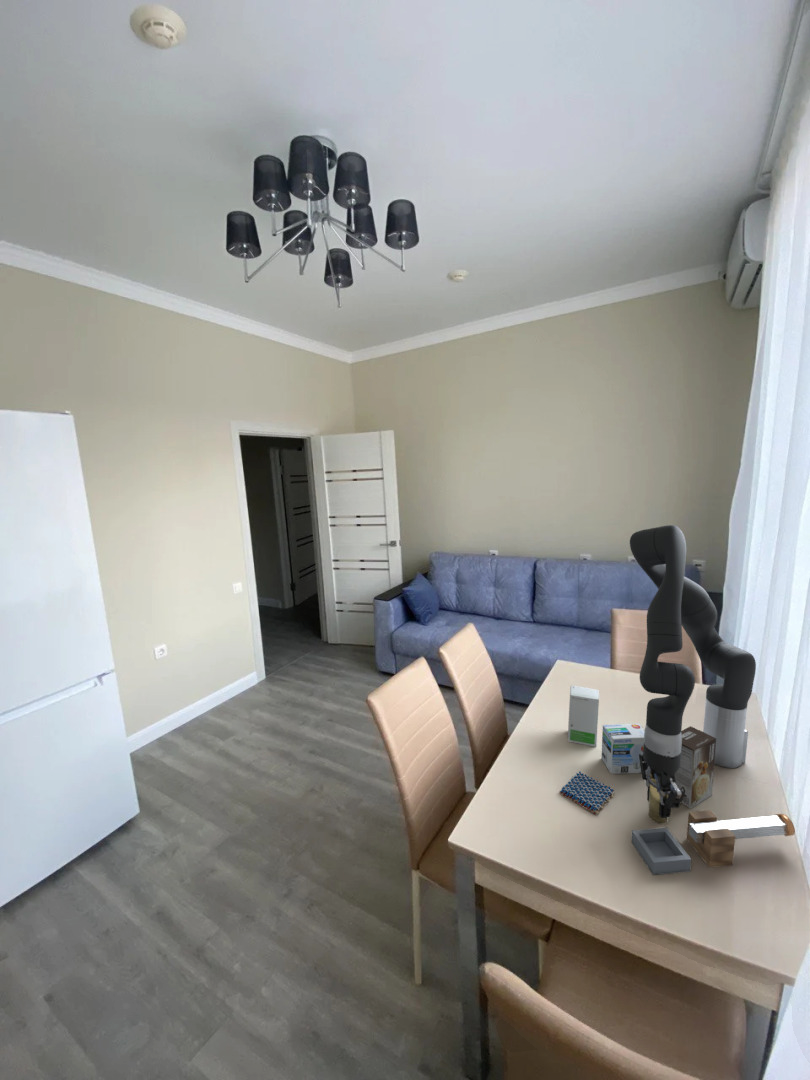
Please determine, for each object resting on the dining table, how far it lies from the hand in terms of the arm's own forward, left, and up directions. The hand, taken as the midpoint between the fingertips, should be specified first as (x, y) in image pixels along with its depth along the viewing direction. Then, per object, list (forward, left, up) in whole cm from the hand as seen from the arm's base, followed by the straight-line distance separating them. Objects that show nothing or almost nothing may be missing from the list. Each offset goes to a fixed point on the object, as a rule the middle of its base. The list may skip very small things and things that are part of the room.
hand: (658, 808), depth 105 cm
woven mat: (+13, -9, -3) cm, 16 cm away
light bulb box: (-2, -18, -3) cm, 18 cm away
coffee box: (-12, -6, -3) cm, 14 cm away
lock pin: (-12, +10, +1) cm, 15 cm away
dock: (+6, +10, -2) cm, 12 cm away
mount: (-5, +10, -2) cm, 11 cm away
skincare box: (+4, -31, -3) cm, 31 cm away
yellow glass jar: (0, 0, -2) cm, 2 cm away
